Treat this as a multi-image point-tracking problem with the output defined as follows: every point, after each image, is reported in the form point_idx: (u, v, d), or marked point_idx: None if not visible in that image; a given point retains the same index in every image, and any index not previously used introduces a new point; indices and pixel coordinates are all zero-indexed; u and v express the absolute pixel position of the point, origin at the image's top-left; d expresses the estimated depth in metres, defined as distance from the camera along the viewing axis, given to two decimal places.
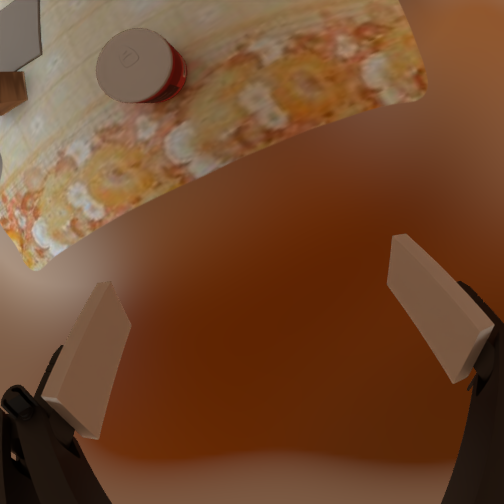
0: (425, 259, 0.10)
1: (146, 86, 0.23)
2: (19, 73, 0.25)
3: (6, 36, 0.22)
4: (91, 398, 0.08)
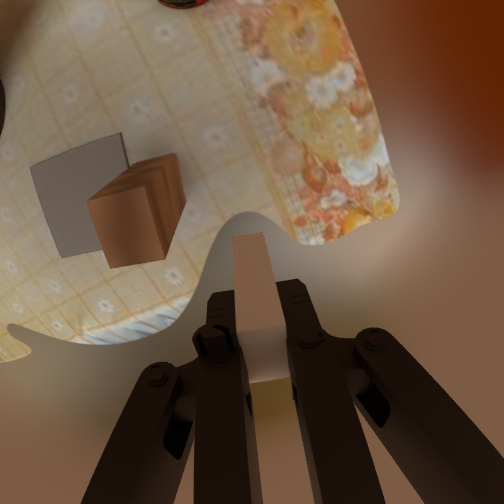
0: (260, 256, 0.12)
1: None
2: (135, 164, 0.30)
3: (81, 201, 0.32)
4: None
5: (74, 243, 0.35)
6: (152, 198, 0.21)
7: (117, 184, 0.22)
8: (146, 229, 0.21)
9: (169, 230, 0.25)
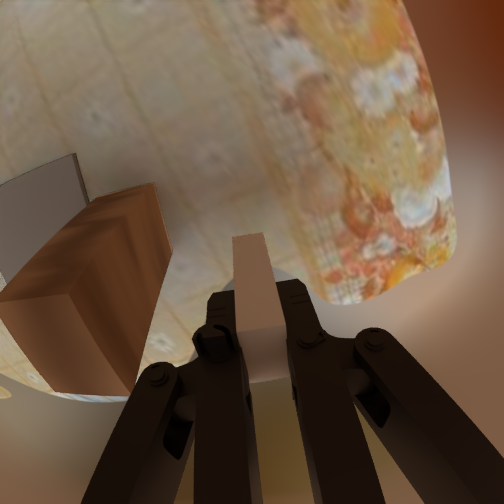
0: (260, 256, 0.12)
1: None
2: (95, 200, 0.20)
3: (33, 248, 0.22)
4: None
5: None
6: (93, 304, 0.10)
7: (45, 260, 0.11)
8: (91, 358, 0.10)
9: (138, 333, 0.14)
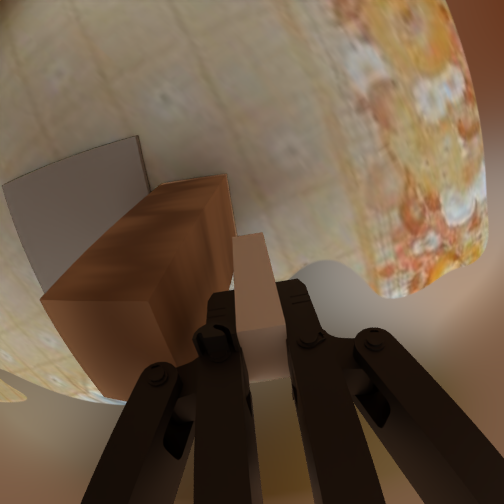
0: (260, 256, 0.12)
1: None
2: (159, 187, 0.20)
3: (76, 239, 0.22)
4: None
5: None
6: (172, 311, 0.10)
7: (107, 253, 0.11)
8: None
9: None
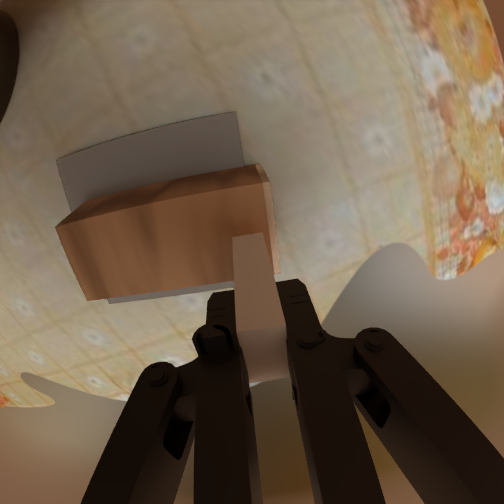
0: (260, 256, 0.12)
1: None
2: (243, 167, 0.20)
3: None
4: None
5: None
6: (74, 241, 0.17)
7: (112, 198, 0.19)
8: None
9: (121, 285, 0.18)
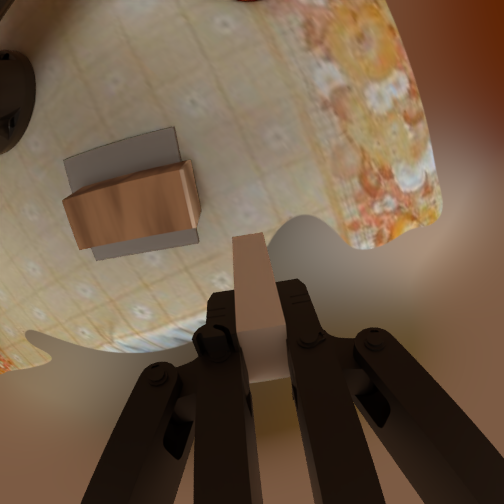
0: (259, 256, 0.12)
1: None
2: (178, 162, 0.30)
3: None
4: None
5: (113, 244, 0.34)
6: (73, 209, 0.27)
7: (98, 184, 0.29)
8: None
9: (101, 237, 0.28)
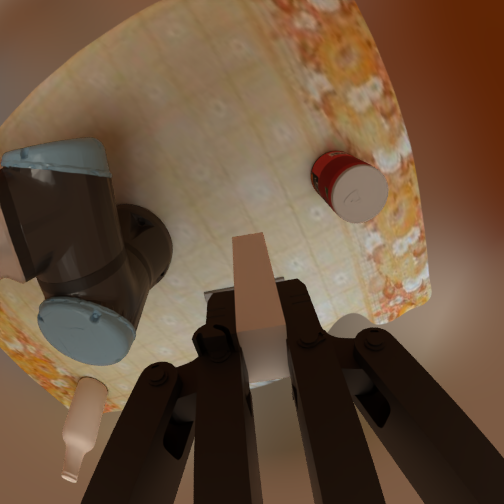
0: (260, 256, 0.12)
1: (379, 184, 0.34)
2: None
3: None
4: None
5: None
6: None
7: None
8: None
9: None
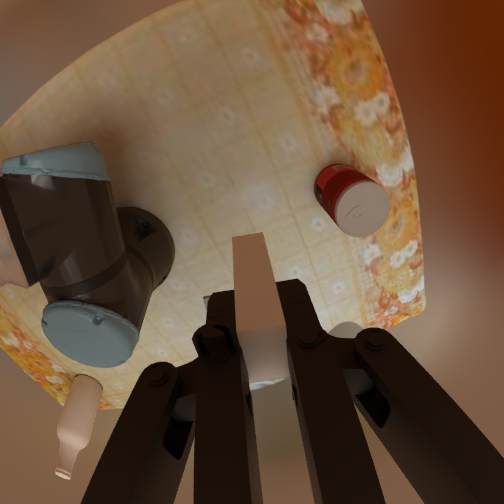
0: (260, 256, 0.12)
1: (381, 200, 0.35)
2: None
3: None
4: None
5: None
6: None
7: None
8: None
9: None
